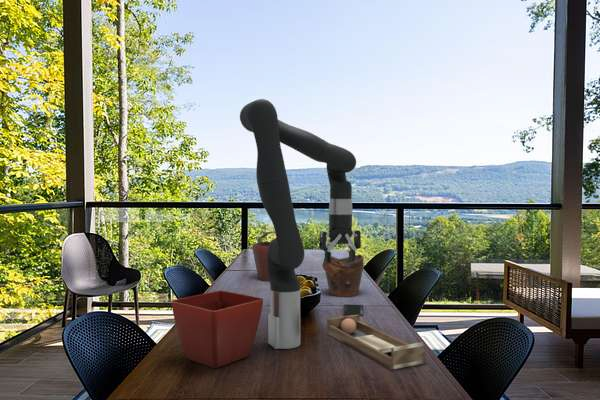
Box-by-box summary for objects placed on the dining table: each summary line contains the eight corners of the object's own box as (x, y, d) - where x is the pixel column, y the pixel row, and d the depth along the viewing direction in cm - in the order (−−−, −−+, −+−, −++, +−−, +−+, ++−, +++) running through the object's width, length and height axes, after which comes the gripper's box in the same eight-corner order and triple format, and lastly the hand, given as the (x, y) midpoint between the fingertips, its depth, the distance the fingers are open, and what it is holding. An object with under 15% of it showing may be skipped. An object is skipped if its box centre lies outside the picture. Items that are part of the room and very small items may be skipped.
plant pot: (221, 342, 151) (220, 289, 151) (265, 356, 139) (265, 298, 138) (169, 359, 136) (169, 300, 136) (214, 376, 124) (213, 311, 124)
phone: (363, 304, 195) (363, 314, 181) (363, 307, 196) (363, 317, 181) (343, 304, 196) (342, 313, 182) (343, 307, 197) (342, 316, 182)
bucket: (248, 276, 262) (248, 230, 261) (285, 273, 271) (285, 229, 270) (264, 284, 240) (263, 234, 239) (303, 280, 249) (303, 232, 248)
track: (391, 370, 128) (391, 348, 128) (327, 333, 160) (327, 315, 160) (426, 363, 133) (426, 341, 133) (358, 329, 165) (358, 311, 165)
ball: (336, 324, 161) (341, 316, 158) (349, 322, 163) (354, 314, 160) (342, 337, 158) (347, 329, 155) (355, 335, 160) (360, 327, 157)
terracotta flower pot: (313, 293, 219) (314, 254, 218) (343, 287, 232) (344, 250, 232) (341, 301, 206) (342, 259, 205) (372, 294, 219) (372, 255, 218)
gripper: (353, 212, 162) (353, 260, 162) (315, 212, 156) (315, 262, 156) (365, 213, 155) (364, 263, 155) (326, 213, 149) (325, 265, 150)
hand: (340, 262), depth 156 cm, fingers open, 8 cm apart
